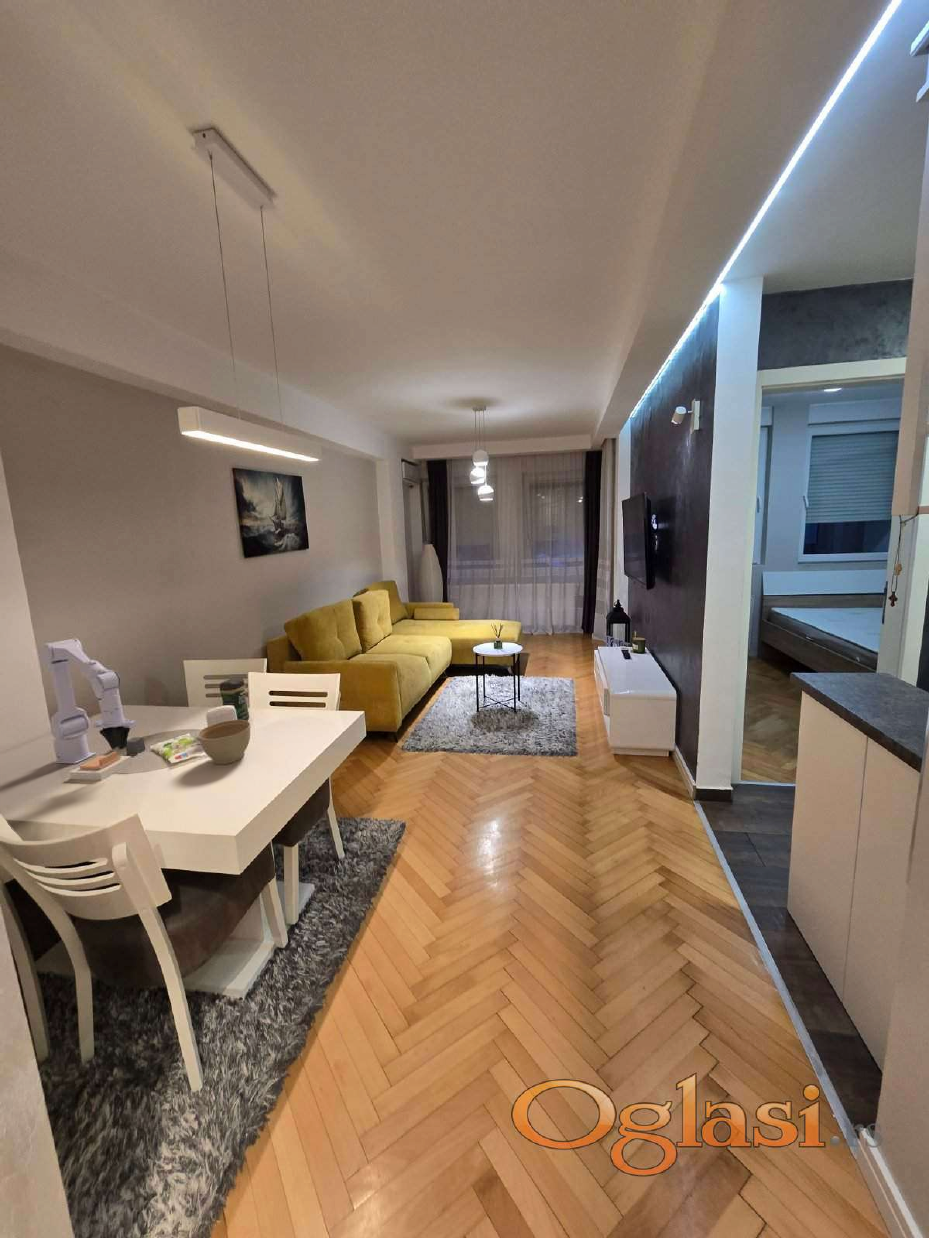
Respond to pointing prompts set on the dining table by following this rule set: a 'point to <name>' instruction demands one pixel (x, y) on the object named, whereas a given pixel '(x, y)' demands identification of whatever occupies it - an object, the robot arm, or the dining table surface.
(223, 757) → the planter bowl
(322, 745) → the dining table surface
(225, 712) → the white rounded block
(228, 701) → the coffee jar
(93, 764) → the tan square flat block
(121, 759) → the socket
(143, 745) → the grey block
